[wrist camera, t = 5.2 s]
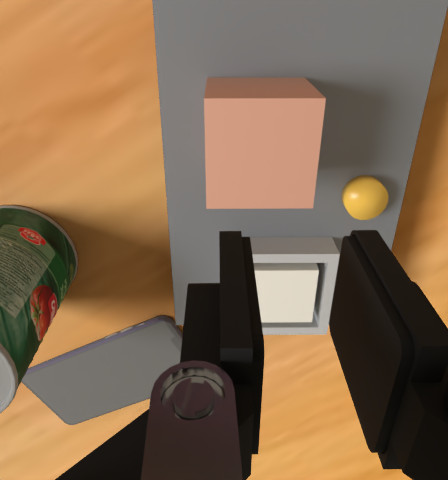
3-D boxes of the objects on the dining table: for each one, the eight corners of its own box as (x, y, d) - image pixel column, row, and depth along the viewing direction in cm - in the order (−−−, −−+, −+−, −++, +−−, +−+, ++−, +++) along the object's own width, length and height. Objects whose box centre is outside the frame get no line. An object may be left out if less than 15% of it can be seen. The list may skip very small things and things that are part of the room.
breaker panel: (423, -2, 23) (470, -1, 18) (361, 297, 33) (383, 344, 28) (160, -2, 23) (146, -1, 18) (179, 298, 33) (173, 345, 28)
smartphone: (13, 377, 36) (166, 316, 33) (18, 368, 37) (167, 308, 34) (68, 428, 40) (211, 378, 36) (71, 419, 40) (211, 369, 37)
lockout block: (304, 77, 22) (325, 98, 17) (296, 170, 24) (312, 208, 20) (206, 77, 22) (203, 98, 17) (208, 170, 24) (206, 208, 20)
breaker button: (312, 252, 27) (319, 270, 25) (306, 302, 29) (311, 322, 27) (249, 252, 27) (251, 270, 25) (247, 302, 29) (249, 322, 27)
